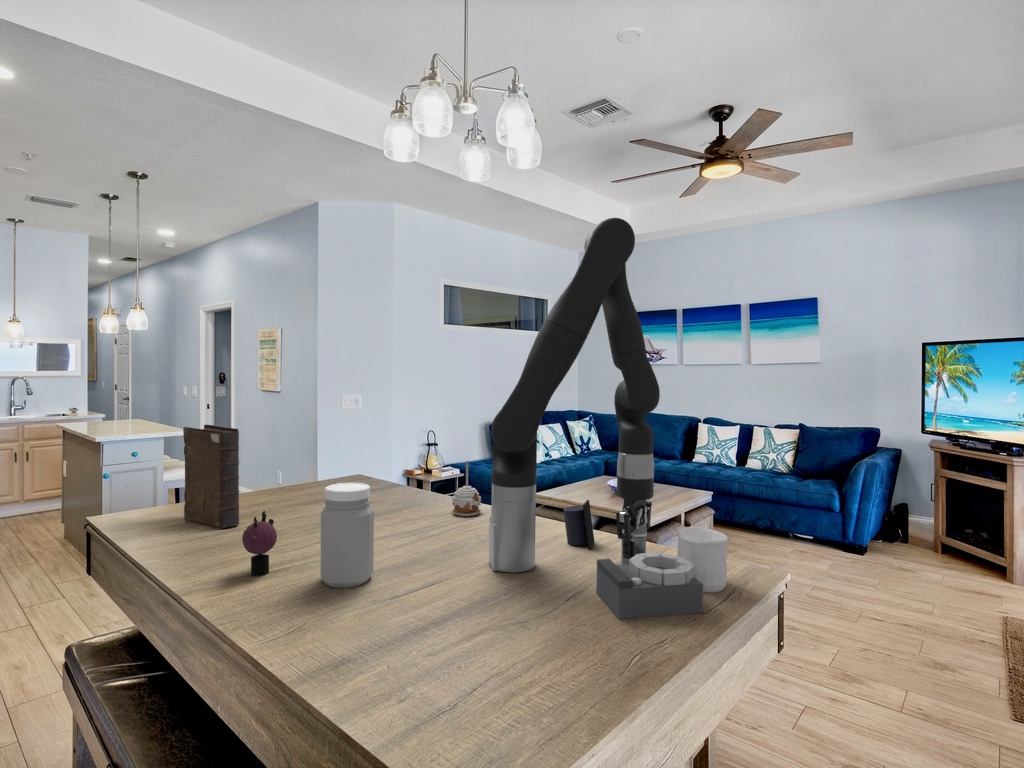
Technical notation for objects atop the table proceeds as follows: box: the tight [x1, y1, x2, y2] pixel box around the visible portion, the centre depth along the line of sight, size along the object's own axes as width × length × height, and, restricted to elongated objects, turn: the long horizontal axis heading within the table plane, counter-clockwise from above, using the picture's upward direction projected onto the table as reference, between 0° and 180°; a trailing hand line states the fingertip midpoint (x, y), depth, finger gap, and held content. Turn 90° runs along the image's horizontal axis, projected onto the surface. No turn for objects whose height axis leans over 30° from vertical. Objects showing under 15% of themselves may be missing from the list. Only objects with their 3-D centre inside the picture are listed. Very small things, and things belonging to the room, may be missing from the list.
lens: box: [620, 522, 648, 565], centre depth 118 cm, size 5×5×9 cm
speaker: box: [563, 499, 596, 551], centre depth 133 cm, size 8×6×10 cm
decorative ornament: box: [452, 460, 482, 517], centre depth 159 cm, size 8×8×15 cm
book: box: [182, 424, 240, 530], centre depth 146 cm, size 17×7×25 cm, turn 54°
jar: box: [320, 482, 375, 589], centre depth 108 cm, size 10×10×18 cm
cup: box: [676, 526, 729, 594], centre depth 109 cm, size 10×10×10 cm
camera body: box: [595, 552, 704, 620], centre depth 100 cm, size 15×11×7 cm
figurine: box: [241, 510, 278, 577], centre depth 111 cm, size 8×8×12 cm
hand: (633, 554), depth 119 cm, fingers closed on lens, 5 cm apart
